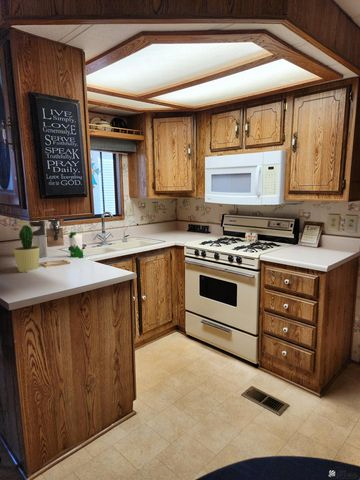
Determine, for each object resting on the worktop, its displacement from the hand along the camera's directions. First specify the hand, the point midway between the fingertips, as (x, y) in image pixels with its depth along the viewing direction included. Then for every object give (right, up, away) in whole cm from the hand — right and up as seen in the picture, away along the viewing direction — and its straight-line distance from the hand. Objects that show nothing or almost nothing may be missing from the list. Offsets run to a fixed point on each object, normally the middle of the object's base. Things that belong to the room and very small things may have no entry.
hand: (55, 239), depth 212 cm
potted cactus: (-14, -20, -8) cm, 26 cm away
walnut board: (0, -4, +1) cm, 4 cm away
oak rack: (-1, -18, +5) cm, 18 cm away
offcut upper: (-3, -16, +6) cm, 18 cm away
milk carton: (+4, -14, +32) cm, 35 cm away
